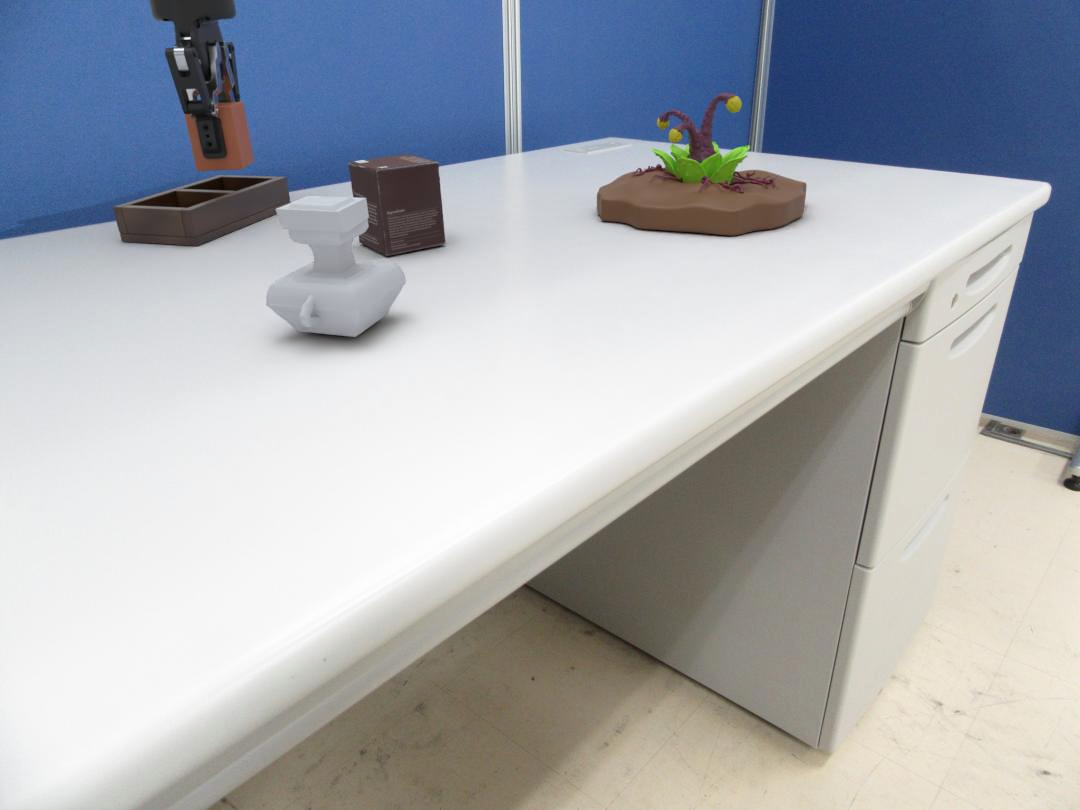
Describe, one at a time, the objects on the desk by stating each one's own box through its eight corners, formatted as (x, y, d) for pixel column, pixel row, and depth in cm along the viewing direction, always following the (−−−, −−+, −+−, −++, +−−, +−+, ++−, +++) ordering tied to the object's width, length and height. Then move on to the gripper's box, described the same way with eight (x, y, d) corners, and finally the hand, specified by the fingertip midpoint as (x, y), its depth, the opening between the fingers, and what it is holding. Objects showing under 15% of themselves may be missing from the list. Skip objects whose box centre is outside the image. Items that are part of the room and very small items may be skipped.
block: (196, 171, 79) (182, 108, 77) (210, 163, 83) (197, 103, 81) (243, 169, 80) (230, 106, 77) (254, 161, 84) (243, 101, 81)
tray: (121, 241, 75) (112, 206, 73) (225, 204, 88) (219, 174, 87) (197, 246, 73) (189, 210, 71) (291, 207, 86) (286, 176, 85)
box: (447, 246, 70) (440, 161, 67) (385, 258, 67) (375, 170, 64) (417, 232, 75) (409, 152, 72) (357, 243, 72) (346, 160, 69)
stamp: (354, 357, 48) (335, 220, 44) (261, 348, 50) (234, 214, 46) (417, 308, 56) (405, 187, 52) (334, 302, 58) (317, 184, 54)
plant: (760, 245, 68) (774, 107, 63) (568, 220, 78) (567, 99, 73) (827, 200, 83) (843, 86, 78) (658, 184, 93) (662, 81, 88)
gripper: (170, -32, 79) (207, 144, 87) (111, -40, 67) (161, 167, 74) (245, -34, 80) (276, 142, 87) (201, -42, 67) (241, 164, 75)
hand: (223, 152), depth 81 cm, fingers closed on block, 4 cm apart
